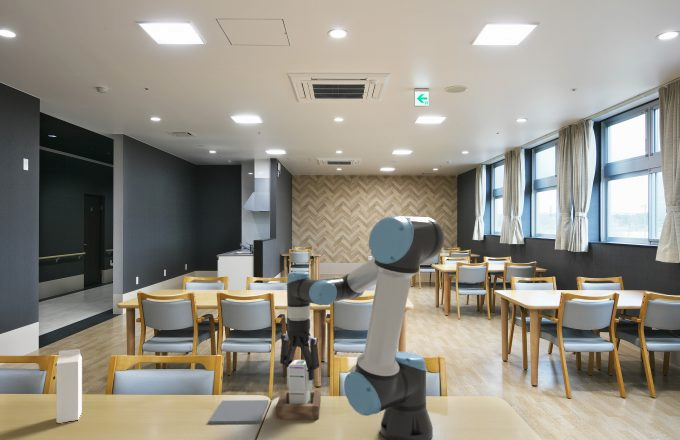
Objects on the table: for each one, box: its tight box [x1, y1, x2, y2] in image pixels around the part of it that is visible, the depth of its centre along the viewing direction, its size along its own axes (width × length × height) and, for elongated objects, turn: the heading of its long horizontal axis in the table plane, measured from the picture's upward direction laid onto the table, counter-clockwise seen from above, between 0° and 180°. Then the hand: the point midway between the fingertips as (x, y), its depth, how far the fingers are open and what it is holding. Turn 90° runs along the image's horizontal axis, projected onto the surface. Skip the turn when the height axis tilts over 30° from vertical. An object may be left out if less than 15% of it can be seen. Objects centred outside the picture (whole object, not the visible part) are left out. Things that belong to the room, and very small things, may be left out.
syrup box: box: [288, 359, 311, 404], centre depth 145 cm, size 6×6×14 cm
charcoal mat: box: [208, 399, 269, 425], centre depth 143 cm, size 16×16×1 cm
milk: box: [55, 348, 83, 422], centre depth 140 cm, size 6×6×22 cm
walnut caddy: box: [275, 389, 322, 420], centre depth 145 cm, size 14×14×4 cm
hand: (299, 387), depth 144 cm, fingers closed on syrup box, 7 cm apart
